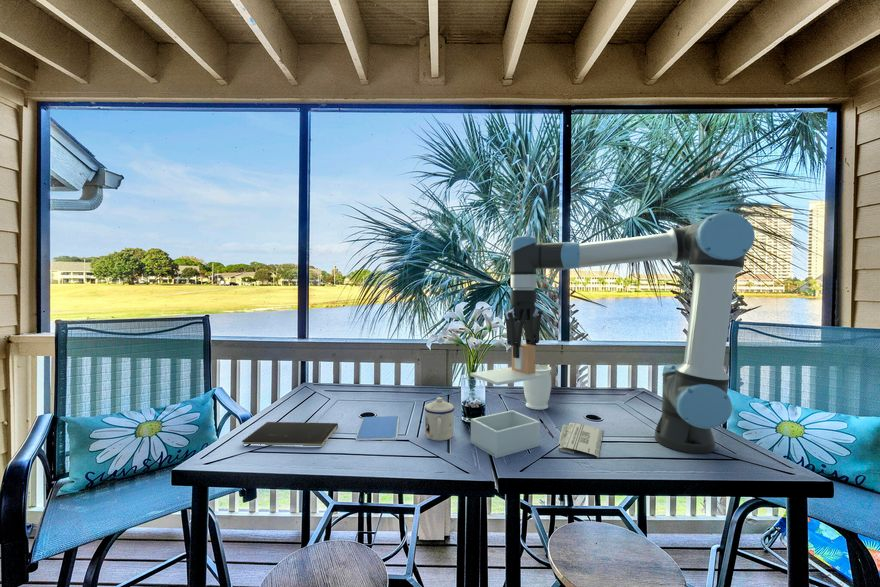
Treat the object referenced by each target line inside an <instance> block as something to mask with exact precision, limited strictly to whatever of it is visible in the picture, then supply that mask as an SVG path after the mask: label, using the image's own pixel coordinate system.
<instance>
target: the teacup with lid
mask: <svg viewBox="0 0 880 587" xmlns="http://www.w3.org/2000/svg"><path fill="white" fill-rule="evenodd" d="M424 411H425V412H424V413H425V414H424V416H425V417H424V418H425V419H424V420H425V421H424V422H425V424H424V425H425V426H424V428H425V429H424V430H425V431H424V432H425V433H424V435H425V438H427V439H429V440H432V441H437V442H439V441H440V442H441V441H447V440H451V439H452V438H453V437H454V411H455V407H454V405H453V404H452V403H451V402H450V403H449V402H447V401H445V400H444V399H443V397H440V396H439V397H436V399H435V400H433V401H432V402H430V403H426V404H425V406H424Z"/></svg>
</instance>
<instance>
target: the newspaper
mask: <svg viewBox="0 0 880 587" xmlns="http://www.w3.org/2000/svg"><path fill="white" fill-rule="evenodd" d="M603 435H604V429H601V428H600V427H595V426H592V425H587V424H582V423H578V422H576V423H575V422H570V423H568V425H566V424H562V428H561V432H560V434H559V439H558V451H559V452H564V453H569V454H576V451H578V452H579V451H580V452H583V453H586V454H590V455H593V456H595V457H596V458H597V459H599V458H600V453H601V447H602V440H603ZM559 444H560V446H559ZM574 452H575V453H574Z"/></svg>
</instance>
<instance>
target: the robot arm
mask: <svg viewBox="0 0 880 587" xmlns="http://www.w3.org/2000/svg"><path fill="white" fill-rule="evenodd" d="M755 238H756V237H755V229H754V227H753V225H752V223H751V222H750V221H748V219H746V218H745V216H742V215H740V214H738V213H734V212H718V213H714V214H711V215H708V216H706V217H705V218H703V219H701V220H699V221H698V222H694V223H693V224H689V225H685V226H681V227H676V228H670V229H669V230H668V231H667V232H664V233H663V232H662V233H657V234H649V235H640V236H634V237H633V236H632V237H624V238H616V239H609V240H608V239H607V240H602V241H600V240H598V241H592V242H583V243H579V242H576V241H570V242H569V241H564V242H546V243H545V242H544V243H543V242H538V240H537V239H538V238H537V237H536V236H532V235H529V236H527V235H524V236H523V235H522V236H515V237H513V238H511V243H510V245H511V246H510V254H509V255H510V288H511V291H510V303H511V307H510V309H509V311H504V312H503V317H504V320H505V329H506V330H505V331H506V343H507V344H506V345H508V346H510V347H512V346H513V357H514V358H515V368H516V369H519V370H523V347H520V346H521V343H522V337H523V328H524V336H525V337H524V338H525V344H529V345H535V347H536V346H537V344H539V343H540V334H541V333H540V332H541V318H542V316H543V310H539V309H537V307H536V305H535V303H537V293H538V292H537V290H535V289H536V288H537V285H538V284H537V283H538V282H537V278H538V277H537V274H538V273H537V270H543V269H546V270H549V269H550V270H551V269H552V270H556V271H566V270H572V269H579V268H580V269H581V268H582V269H583V268H589V267H590V268H591V267H601V266H611V265H612V266H613V265H620V264H621V265H623V264H631V263H638V262H639V263H640V262H649V261H650V262H651V261H659V260H670V261H671V262H674V263H675V262H688V267H689V268H690V269H691V270H692V272H693V273H694V275H693V283H692V292H691V301H690V309H689V317H688V323H687V324H688V325H687V334H686V341H685V348H684V357H683V358H684V359H683V362H682V363H681V364H671V363H669V364H666V365H664V366H663V367H662V368H663V369H662V374H661V375H662V400H661V415H660V417H659V420H658V422H657V425H656V427H655V430H654V440H655V441H656V442H657V443H659V444H660V445H662V446H664V447H666V448H669V449H672V450H675V451H678V452H684V453H690V454H709V453H710V454H711V453H713V452H714V451H715V450H716V440H715V436H714V433H713V430H712V429H716V428H718V427H721V426H722V425H724V424H725V423H727V421H728V420H729V419H730V417H731V416H732V413H733V405H732V401H731V398H730V396H729V394H728V392H729V383H730V381H729V380H730V376H729V375H728V374H727V373H726V371H724V365H725V363H724V362H725V355H726V348H727V340H728V334H729V332H728V331H729V325H730V315H731V309H732V302H733V301H732V300H733V293H734V284H735V278H736V276H737V274H739V273H740V272H741V271H743V270H744V267H745V259H746V254H747V253H748V252H749V251H750V250H751V248H752V246H753V244H754V241H755Z"/></svg>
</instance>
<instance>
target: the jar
mask: <svg viewBox="0 0 880 587" xmlns="http://www.w3.org/2000/svg"><path fill="white" fill-rule="evenodd" d="M551 372H552V367H551V366H548V365H543V364H535V373H539V374H542V375H543V378H537V379H531V380H526V381H522V386H523V391H524V392H523V394H524V397H525V400H526V403H525V406H526V408H528V409H532V410H536V411H537V410H538V411H540V410H546V409H548V408H549V405H548V402H549V399H550V398H551V391H552V375H551Z"/></svg>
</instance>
